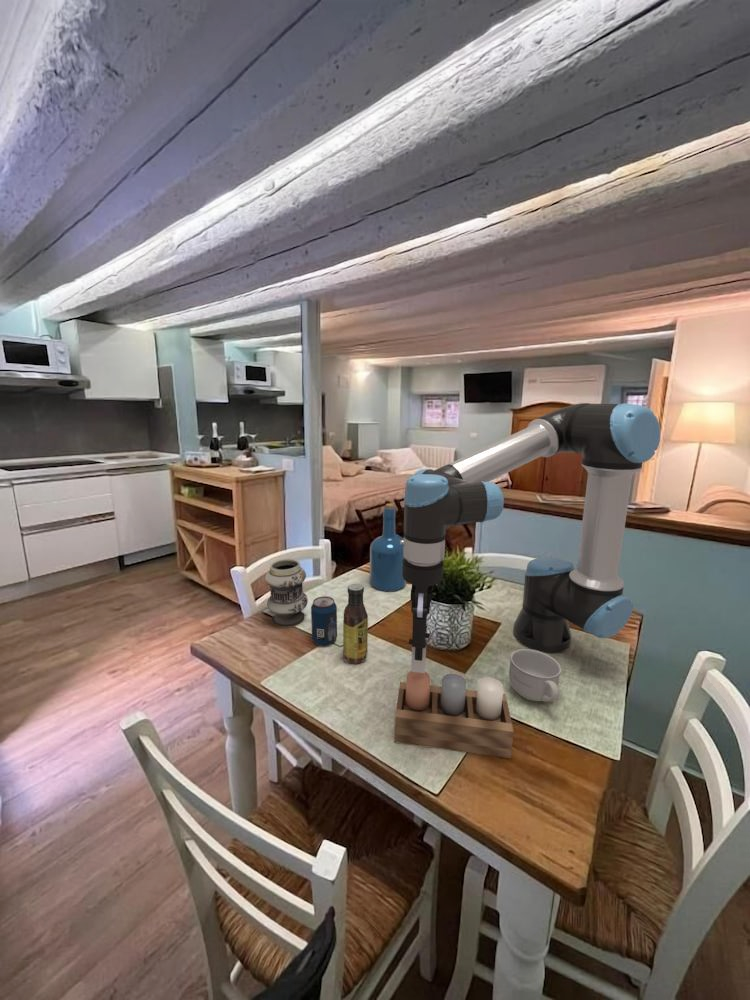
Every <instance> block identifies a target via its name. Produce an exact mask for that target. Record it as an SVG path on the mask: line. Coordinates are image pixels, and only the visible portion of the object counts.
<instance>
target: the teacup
mask: <svg viewBox="0 0 750 1000" xmlns="http://www.w3.org/2000/svg"><path fill="white" fill-rule="evenodd" d="M561 674H562V666H561V665H560V663H559V662H558V661H557V660H556V659H555V658H554V657H552V656H551V655H549V654H547V653H546V652H541V651H537V650H534V649H531V648H529V649H528V648H521V649H517V650H514V651H513V652H512V653H511V654H510V663H509V671H508V679H509V682H510V684H511V687H512V689H514V690H515V691H516V692H517V694H518V695H520V696H521V697H522V698H524V699H526V700H527V701H528V700H529V701H531V702H532V701H533V702H542V701H543V702H555V701H556V702H557V701H558V699H559V697H560V689H559V686H558V685H559V681H560V678H561V677H560V676H561Z"/></svg>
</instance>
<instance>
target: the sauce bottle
mask: <svg viewBox="0 0 750 1000" xmlns="http://www.w3.org/2000/svg"><path fill="white" fill-rule="evenodd" d="M364 593H365V587H364V585H362V584H361V583H351V584H349V585H348V586H347V595H348V601H347V605H346V606H345V608H344V610H343V623H342V632H343V633H342V636H343V637H342V642H343V643H342V646H343V647H342V650H343V658H344V661H346V662H347V663H348V664H353V665H357V664H360V663H363V662H364V661H365V660H366V659H367V655H368V636H369V634H368V631H369V630H368V628H369V626H368V625H369V624H368V623H369V622H368V621H369V616H368V615H369V614H368V612H367V610H366V605H365V604H364Z"/></svg>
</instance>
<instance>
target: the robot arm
mask: <svg viewBox="0 0 750 1000" xmlns="http://www.w3.org/2000/svg"><path fill="white" fill-rule="evenodd" d="M660 441H661V427H660V422H659V420H658V418H657V415H655V412H654V411H653V410H652V409H650V408H649V407H647V406H645V405H640V404H633V403H632V404H631V403H626V402H625V403H589V402H585V403H583V402H580V403H575V404H572V405H571V404H570V405H567V406H564V407H561V408H559V409H555V410H553V411H551V412H549V413H546V414H544V415H541V416H539V417H537V418H535V419H533V420H532V421H529V423H528V425H527V427H526V428H523V429H521V430H519V431H517V432H515V433H513V434H510V435H509V436H506V437H504V438H501V439H499V440H498V441H496V442H493V443H491V444H489V445H487V446H484V447H482V448H481V449H478V450H476V451H473V452H471V453H469V454H467V455H465V456H463V457H461V458H458V459H457V460H454V461H452V462H450V463H448V464H446V465H444V466H441V467H439V468H436V469H431V468H422V469H419V470H417V471H415V472H414V473H413V474H412V475H411V476H409V477H408V478H407V480H406V482H405V488H404V489H405V490H404V498H403V504H404V508H403V511H404V512H403V539H404V540H401V541H400V544H401V545H403V546H404V548H403V556H404V559H403V566H402V577H403V579H404V580H405V581H406V583H408V584H411V589H410V600H411V609H410V611H411V613H412V638H409V639H408V644H409V645H411V661H410V662H411V663H410V671H411V672H419V673H425V672H426V657H427V639H430V637H431V636H430V635H431V633H430V632H429V633H428V632H427V629H428V624H427V621H428V615H429V614H430V613H431V602H432V600H433V586H436V585H438V584H439V583H441V582H442V580H443V579H444V565H445V564H444V558H445V547H446V531H447V527H451V526H453V527H454V526H458V525H468V524H476V523H480V524H481V523H484V522H487V521H491V520H495V519H497V518H498V517H499V516H501V515H502V513H503V510H504V502H505V497H504V494H503V491H502V490H501V488H500V487H499V485H498V484H496V483H495V482H493V481H494V480H495V479H497V478H500V477H501V476H503V475H505V474H507V473H509V472H512V471H513V470H516V469H518V468H521V467H522V466H524V465H526V464H528V463H530V462H532V461H535V460H536V459H538V458H540V457H542V458H550V457H552V456H553V455H557V454H562V453H575V454H579V455H582V457H581V460H582V461H581V466H582V468H584V469H585V470H586V472H587V479H586V480H587V481H586V487H585V488H586V489H585V496H584V497H585V498H584V505H583V512H582V513H583V514H582V521H581V532H580V538H579V539H580V540H579V549H578V558H577V563H576V568H575V566H574V563H573V562H571V561H570V560H567V559H562V558H556V557H538V558H537V557H536V558H533V559H531V560H530V561H529V562H527V564H526V571H525V574H524V584H523V585H524V587H523V597H522V607H521V608H520V611H519V613H518V615H517V616H516V619H515V621H514V623H513V631H512V632H513V633H512V634H513V636H514V638H515V639H516V640H517V642H519V643H521V644H522V645H524V646H525V647H526V648H529V649H531V650H536V651H540V652H543V653H546V654H547V653H549V654H554V653H555V654H557V653H562V652H566V651H567V650H568V649H569V648H571V642H572V632H571V629H570V624H569V622H570V623H571V624H573V625H575V626H577V627H579V628H580V629H582V630H583V631H584V632H585V633H587V634H590V635H593V636H595V637H597V638H598V639H608V638H612V637H613V636H615V635H617V634H618V633H619V632H621V630H622V629H624V628H625V626H626V625H627V623H628V622H629V620H630V619H631V616H632V613H633V610H634V604H633V601H632V600H631V598H630V597H629V596H627V595H625V594H624V588H625V583H624V580H623V579H622V578H621V577H620V576H619V569H620V567H619V566H620V562H621V561H620V560H621V554H622V549H623V542H624V541H623V540H624V535H625V528H626V520H627V514H628V509H629V508H628V507H629V501H630V495H631V494H630V493H631V486H632V480H633V479H632V478H633V475H634V474H636V473H638V472H639V471H640V470H641V469H642V468H643V463H645V462H648V461H650V460H651V459H652V458H653V457H654V455H655V454H656V452H655V451H658V449H659V445H660Z"/></svg>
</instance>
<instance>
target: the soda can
mask: <svg viewBox="0 0 750 1000" xmlns="http://www.w3.org/2000/svg"><path fill="white" fill-rule="evenodd" d="M337 608H338V607H337V604H336V602H335V599H334V598H333V597H331V596H327V595H326V596H318V597H316V598H314V599H313V601H312V604H311V607H310V615H311V622H310V623H311V639H312V641H313V642H314V643H315V645H317V646H320V647H328V646H331V645H332V644H334V643H335V641H336V640H337V638H338V609H337Z"/></svg>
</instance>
